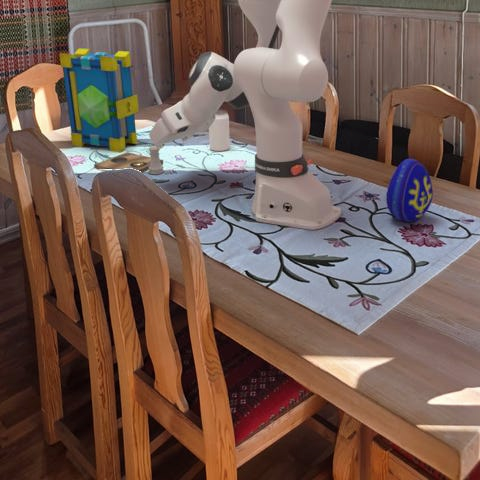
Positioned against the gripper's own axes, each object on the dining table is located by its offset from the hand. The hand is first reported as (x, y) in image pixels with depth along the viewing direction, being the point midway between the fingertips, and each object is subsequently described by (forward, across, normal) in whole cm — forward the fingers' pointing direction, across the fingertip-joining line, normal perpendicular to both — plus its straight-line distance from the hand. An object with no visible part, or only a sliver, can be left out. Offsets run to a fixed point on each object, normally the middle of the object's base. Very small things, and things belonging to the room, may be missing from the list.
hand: (171, 142), depth 193 cm
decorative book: (+37, -6, -22) cm, 43 cm away
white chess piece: (+12, +1, +3) cm, 12 cm away
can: (+13, -27, +2) cm, 30 cm away
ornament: (-40, -14, +55) cm, 70 cm away
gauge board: (+19, +2, -5) cm, 20 cm away
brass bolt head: (+16, +2, -3) cm, 16 cm away
